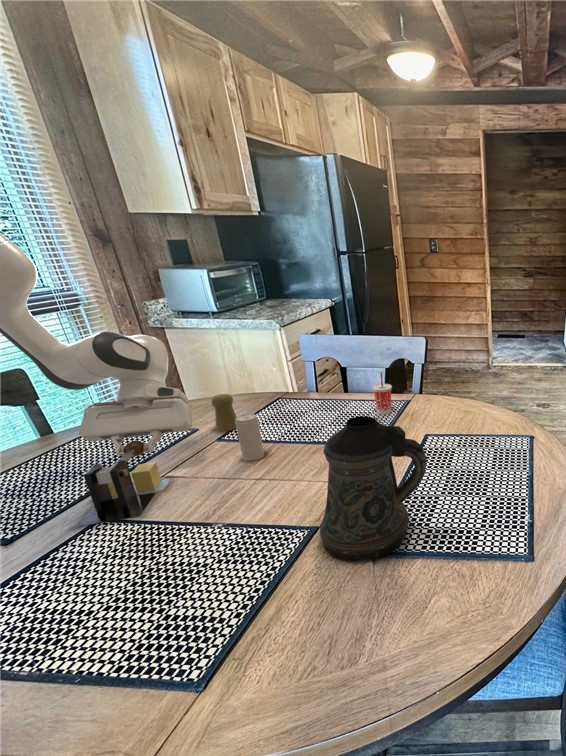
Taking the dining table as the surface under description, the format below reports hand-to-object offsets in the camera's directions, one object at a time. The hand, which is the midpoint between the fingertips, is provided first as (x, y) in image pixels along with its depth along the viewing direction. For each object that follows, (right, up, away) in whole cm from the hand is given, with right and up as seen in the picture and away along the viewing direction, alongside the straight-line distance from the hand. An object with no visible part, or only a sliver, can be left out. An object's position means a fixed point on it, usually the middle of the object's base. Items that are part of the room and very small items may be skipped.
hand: (135, 453), depth 95 cm
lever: (+2, -2, -5) cm, 6 cm away
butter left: (-1, -8, -3) cm, 9 cm away
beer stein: (+59, -14, -11) cm, 61 cm away
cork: (+1, +2, +29) cm, 29 cm away
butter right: (+4, -7, -1) cm, 9 cm away
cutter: (+4, -11, -8) cm, 14 cm away
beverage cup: (+43, +6, +45) cm, 63 cm away
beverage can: (+19, -4, +14) cm, 24 cm away
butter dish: (+1, -9, -2) cm, 9 cm away
